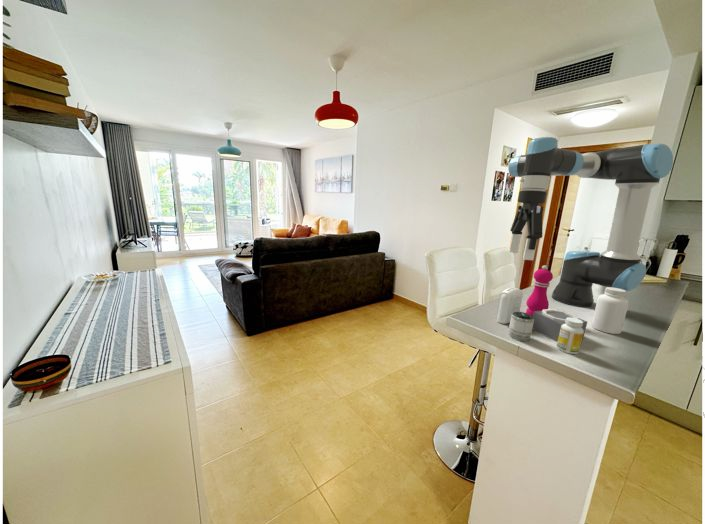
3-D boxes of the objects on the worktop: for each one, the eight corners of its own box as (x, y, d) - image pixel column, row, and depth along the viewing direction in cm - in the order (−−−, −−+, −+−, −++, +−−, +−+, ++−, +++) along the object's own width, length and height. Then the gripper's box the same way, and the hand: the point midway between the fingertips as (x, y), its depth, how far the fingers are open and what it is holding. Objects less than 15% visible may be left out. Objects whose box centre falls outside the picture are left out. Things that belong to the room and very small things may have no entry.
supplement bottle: (555, 350, 84) (562, 320, 82) (556, 343, 88) (563, 314, 86) (578, 356, 81) (586, 325, 78) (578, 349, 85) (585, 319, 83)
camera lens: (525, 333, 93) (530, 311, 92) (533, 343, 87) (538, 319, 86) (505, 331, 95) (509, 309, 93) (511, 340, 89) (515, 316, 87)
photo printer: (508, 315, 108) (513, 284, 106) (519, 319, 105) (525, 288, 102) (493, 320, 103) (498, 288, 100) (505, 325, 99) (511, 292, 97)
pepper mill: (520, 312, 112) (529, 263, 108) (533, 310, 114) (543, 262, 110) (536, 319, 106) (547, 268, 101) (550, 318, 108) (561, 267, 103)
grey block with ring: (554, 325, 101) (558, 308, 100) (583, 338, 92) (587, 319, 90) (530, 327, 98) (533, 309, 97) (557, 341, 89) (561, 322, 88)
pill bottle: (602, 324, 105) (612, 285, 101) (626, 334, 97) (638, 292, 94) (585, 325, 103) (594, 285, 100) (608, 335, 95) (620, 293, 92)
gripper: (507, 191, 102) (497, 249, 107) (536, 187, 78) (521, 261, 83) (530, 192, 101) (518, 251, 105) (566, 189, 77) (549, 264, 81)
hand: (520, 256), depth 94 cm, fingers open, 13 cm apart
